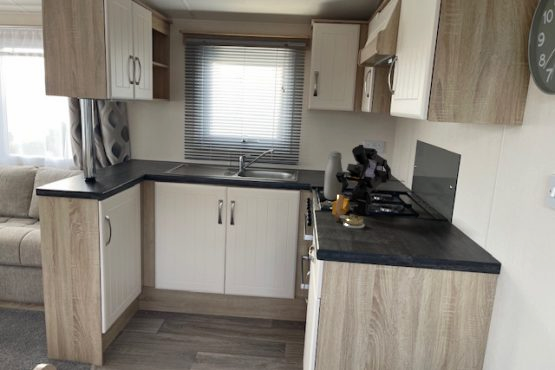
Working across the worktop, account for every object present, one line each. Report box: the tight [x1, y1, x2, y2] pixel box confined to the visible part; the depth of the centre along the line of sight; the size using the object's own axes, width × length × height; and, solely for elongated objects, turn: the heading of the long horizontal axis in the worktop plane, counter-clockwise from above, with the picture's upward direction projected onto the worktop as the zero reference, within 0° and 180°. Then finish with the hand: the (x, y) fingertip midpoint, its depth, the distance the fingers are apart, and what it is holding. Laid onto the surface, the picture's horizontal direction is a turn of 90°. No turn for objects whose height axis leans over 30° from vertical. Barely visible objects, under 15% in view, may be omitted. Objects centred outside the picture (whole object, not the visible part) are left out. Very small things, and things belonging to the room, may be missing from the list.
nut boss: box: [342, 220, 366, 230], centre depth 180 cm, size 10×10×1 cm
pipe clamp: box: [331, 197, 350, 216], centre depth 202 cm, size 12×4×6 cm, turn 142°
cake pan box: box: [362, 157, 385, 179], centre depth 306 cm, size 19×5×18 cm, turn 84°
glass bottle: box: [323, 150, 344, 201], centre depth 227 cm, size 10×10×28 cm
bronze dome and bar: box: [334, 193, 365, 226], centre depth 181 cm, size 14×8×12 cm, turn 51°
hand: (347, 193), depth 188 cm, fingers open, 6 cm apart
